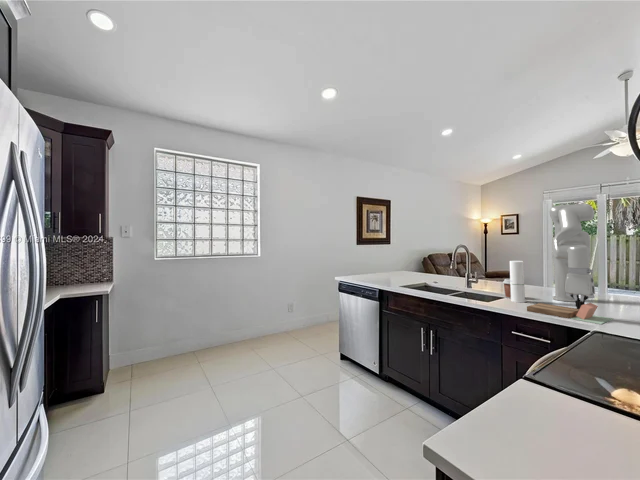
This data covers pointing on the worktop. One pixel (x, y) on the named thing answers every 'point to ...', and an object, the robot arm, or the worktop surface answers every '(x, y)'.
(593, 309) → the pink rectangular block
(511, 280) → the cylindrical container
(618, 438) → the worktop surface
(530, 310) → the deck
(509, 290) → the coffee cup
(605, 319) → the mat
